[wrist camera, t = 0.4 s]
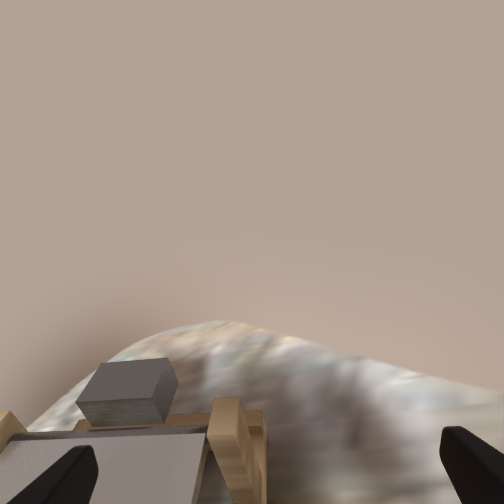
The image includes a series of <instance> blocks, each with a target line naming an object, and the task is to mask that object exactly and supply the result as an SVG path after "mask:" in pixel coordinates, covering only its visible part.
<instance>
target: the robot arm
mask: <svg viewBox="0 0 504 504" xmlns="http://www.w3.org/2000/svg"><path fill="white" fill-rule="evenodd" d="M439 453H440V458H441V461H442V464H443V466H444V468H445V470H446V472H447V474H448V476H449V478H450V480H451V482H452V484H453V486H454V488H455V491H456V493H457V495H458V497H459V499H460V501H461V503H462V504H504V454H503V453H501V452H500V451H498V450H497V449H495V448H494V447H492V446H491V445H489V444H488V443H486V442H485V441H483V440H482V439H480V438H479V437H477V436H476V435H474V434H473V433H471V432H470V431H468V430H467V429H465V428H463V427H461V426H447V427H444V428H443V430H442V436H441V442H440V449H439ZM98 474H99V468H98V464H97V460H96V456H95V453H94V449H93V447H92V446H91V445H77V446H74V447H73V448H71V449H70V450H69V451H68V452H66V453H65V454H64V455H63V456H62V457H61V458H59V459H58V460H57V461H56V462H55V463H53V464H52V465H51V466H50V467H49V468H48V469H46V470H45V471H44V472H43V473H42V474H40V475H39V476H38V477H37V478H36V479H35V480H33V481H32V482H31V483H30V484H29V485H27V486H26V487H25V488H24V489H23V490H22V491H20V492H19V493H18V494H17V495H16V496H14V497H13V498H12V499H11V500H10V501H9V502H7V503H6V504H89V502H90V500H91V497H92V494H93V491H94V488H95V485H96V482H97V479H98Z"/></svg>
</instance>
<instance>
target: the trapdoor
mask: <svg viewBox="0 0 504 504" xmlns="http://www.w3.org/2000/svg"><path fill="white" fill-rule="evenodd" d="M177 386H178V380H177V378H176V375H175V373H174V371H173V368H172V366H171V363H170V361H169V359H168V358H158V359H146V360H133V361H121V362H109V363H101V365H100V366H99V368H98V369H97V371H96V372H95V374H94V375H93V377H92V378H91V380H90V381H89V383H88V384H87V386H86V387H85V389H84V390H83V391H82V393H81V394H80V396H79V397H78V399H77V400H76V404H77V405H78V407H79V408H80V410H81V411H82V413H83V414H84V416H85V417H86V419H87V420H88V421H89V423H90V424H91V426H92V427H106V426H127V425H148V424H164V423H165V421H166V418H167V415H168V412H169V409H170V406H171V403H172V400H173V397H174V394H175V392H176V389H177ZM208 426H209V424H201V425H179V426H158V427H136V428H115V429H93V430H72V431H50V432H29V433H15V434H13V435H12V436H11V437H10V438H9V440H8V442H7V446H6V448H5V449H4V450H3V452H2V453H1V454H0V504H6V503H7V502H9V501H10V500H11V499H12V498H13V497H14V496H16V495H17V494H18V493H19V492H20V491H22V490H23V489H24V488H25V487H26V486H27V485H29V484H30V483H31V482H32V481H33V480H35V479H36V478H37V477H38V476H39V475H40V474H42V473H43V472H44V471H45V470H46V469H48V468H49V467H50V466H51V465H52V464H53V463H55V462H56V461H57V460H58V459H59V458H61V457H62V456H63V455H64V454H65V453H66V452H68V451H69V450H70V449H71V448H73V447H74V446H77V445H91V446H92V447H93V449H94V453H95V456H96V460H97V464H98V468H99V474H98V479H97V482H96V485H95V488H94V491H93V494H92V497H91V500H90V502H89V504H198V499H199V493H200V488H201V483H202V478H203V472H204V467H205V462H206V457H207V451H208V446H209V444H210V443H209V440H208V438H207V431H208Z"/></svg>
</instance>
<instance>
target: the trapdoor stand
mask: <svg viewBox="0 0 504 504" xmlns="http://www.w3.org/2000/svg"><path fill="white" fill-rule="evenodd" d="M201 424H209V426H208V431H207V438H208V440H209V443H210V444H209V446H208V451H213V453H214V455H215V458H216V460H217V463H218V465H219V468H220V470H221V473H222V475H223V478H224V480H225V483H226V485H227V488H228V490H229V493H230V495H231V498H232V500H233V502H234V504H267V445H268V433H267V429H266V425H265V421H264V417H263V413H262V410H255V411H243V409H242V406H241V402H240V399H239V397H229V398H214V401H213V406H212V411H211V413H198V414H178V415H167V418H166V421H165V423H164V424H148V425H127V426H106V427H92V426H91V424H90V423H89V421H88V420H87V419H82V420H79V421H78V422H77V424H76V426H75V427H74V429H73V430H93V429H115V428H136V427H158V426H179V425H201ZM15 433H29V432H28V431H27V430H26V429H25V428H24V426H23V425H22V424H21V423H20V422H19V421H18V419H17V418H16V417H15V416H14V415H13V413H12V412H11V411H10V410H9V411H0V454H1V453H2V452H3V450H4V449H5V448H6V446H7V442H8V440H9V438H10V437H11V436H12V435H13V434H15Z"/></svg>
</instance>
